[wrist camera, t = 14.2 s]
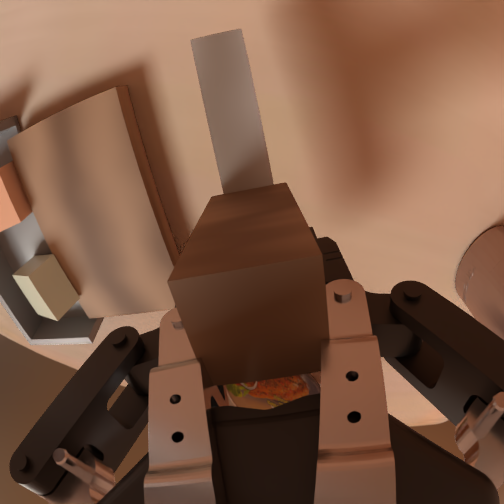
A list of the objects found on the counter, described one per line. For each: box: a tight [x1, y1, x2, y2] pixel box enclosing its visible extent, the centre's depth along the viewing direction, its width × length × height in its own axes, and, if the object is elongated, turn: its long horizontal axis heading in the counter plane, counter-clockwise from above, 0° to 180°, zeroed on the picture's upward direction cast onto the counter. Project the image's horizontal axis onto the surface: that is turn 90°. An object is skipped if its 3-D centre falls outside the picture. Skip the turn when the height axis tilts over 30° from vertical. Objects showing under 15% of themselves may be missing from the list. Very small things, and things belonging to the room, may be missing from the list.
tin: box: [226, 373, 321, 410], centre depth 28 cm, size 15×3×8 cm, turn 47°
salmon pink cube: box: [0, 161, 33, 232], centre depth 19 cm, size 4×4×3 cm
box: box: [0, 116, 104, 345], centre depth 21 cm, size 9×20×4 cm, turn 11°
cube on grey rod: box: [167, 29, 330, 386], centre depth 11 cm, size 3×16×10 cm, turn 11°
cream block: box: [12, 254, 80, 321], centre depth 22 cm, size 4×4×3 cm
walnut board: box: [7, 85, 180, 319], centre depth 21 cm, size 10×17×2 cm, turn 11°
